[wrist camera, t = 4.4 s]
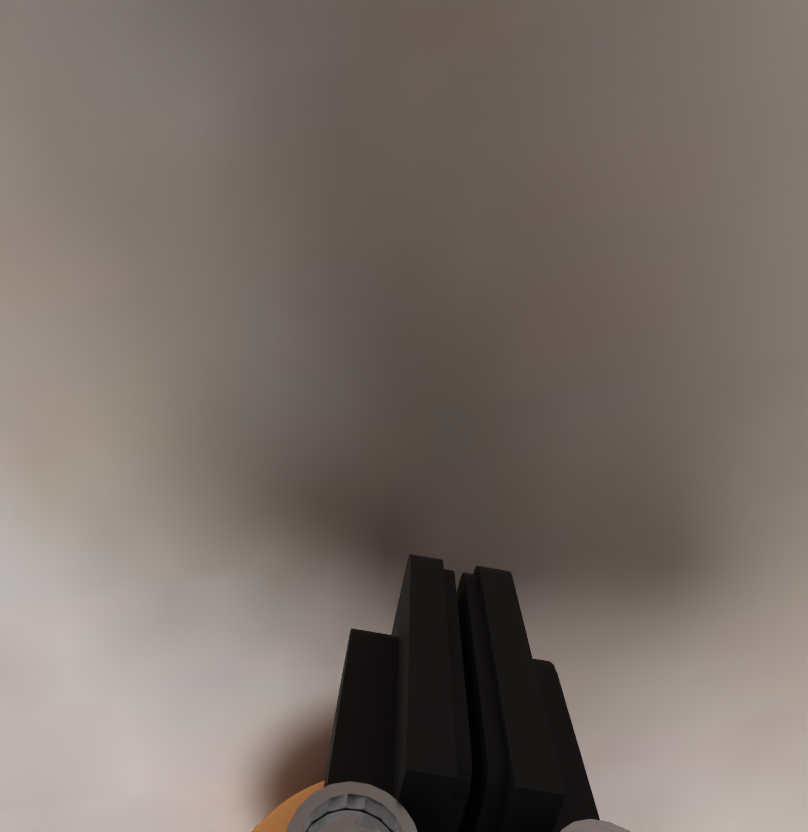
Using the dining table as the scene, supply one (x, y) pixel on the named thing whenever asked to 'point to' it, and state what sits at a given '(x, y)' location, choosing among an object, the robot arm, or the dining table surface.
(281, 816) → the ball
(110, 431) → the dining table surface
